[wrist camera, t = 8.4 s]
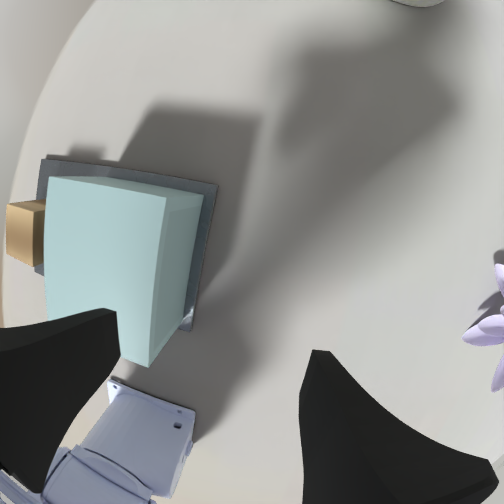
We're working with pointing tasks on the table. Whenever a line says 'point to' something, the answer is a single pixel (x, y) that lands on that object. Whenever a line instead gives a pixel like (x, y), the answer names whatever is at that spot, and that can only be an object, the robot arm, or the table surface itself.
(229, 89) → the table surface
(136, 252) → the cover
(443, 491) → the robot arm
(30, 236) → the oak block
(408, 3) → the teacup
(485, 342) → the water lily
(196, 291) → the base plate
